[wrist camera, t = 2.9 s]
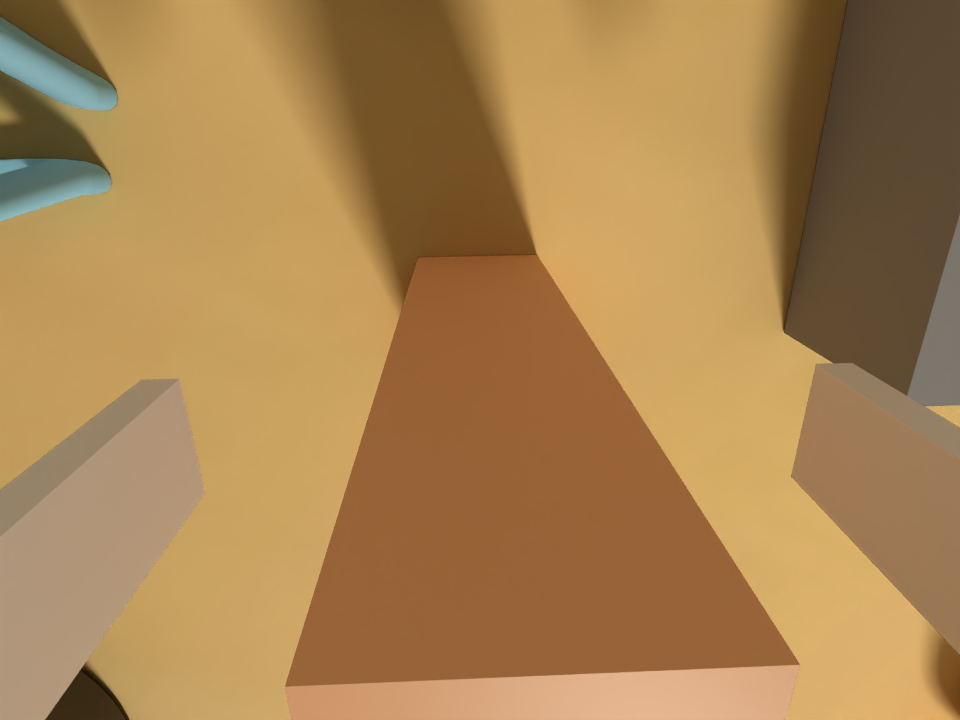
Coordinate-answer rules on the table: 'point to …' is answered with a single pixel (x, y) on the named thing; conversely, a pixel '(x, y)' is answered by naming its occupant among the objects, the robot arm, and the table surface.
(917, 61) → the hole block
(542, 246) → the table surface
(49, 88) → the blue tall openwork piece
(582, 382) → the tall pin
